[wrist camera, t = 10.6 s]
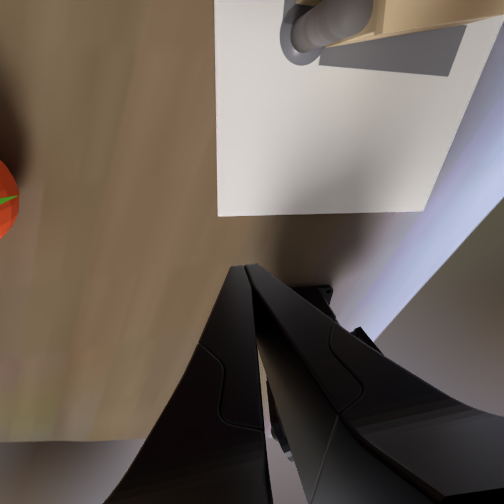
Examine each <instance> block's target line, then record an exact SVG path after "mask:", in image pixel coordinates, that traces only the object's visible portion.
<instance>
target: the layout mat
mask: <svg viewBox="0 0 504 504" xmlns="http://www.w3.org/2000/svg"><path fill="white" fill-rule="evenodd" d="M295 3H296V0H214V36H215V94H216V152H217V211H218V216H255V215H295V214H335V213H375V212H415V211H423V210H424V208H425V205H426V203H427V201H428V198H429V196H430V193H431V191H432V189H433V186H434V184H435V182H436V179H437V177H438V175H439V172H440V170H441V168H442V165H443V163H444V160H445V158H446V156H447V153H448V151H449V149H450V146H451V144H452V142H453V139H454V137H455V134H456V132H457V130H458V127H459V125H460V123H461V120H462V118H463V116H464V113H465V111H466V108H467V106H468V104H469V101H470V99H471V97H472V94H473V92H474V90H475V87H476V85H477V83H478V80H479V78H480V75H481V73H482V71H483V68H484V66H485V64H486V61H487V59H488V57H489V54H490V52H491V49H492V47H493V45H494V42H495V40H496V38H497V35H498V33H499V31H500V28H501V26H502V23H503V21H504V15H500V16H496V17H492V18H488V19H484V20H480V21H476V22H472V23H468V24H464V25H459V26H453V27H447V28H441V29H435V30H429V31H423V32H417V33H411V34H405V35H399V36H393V37H388V38H382V39H376V40H370V41H364V42H358V43H352V44H346V45H340V46H334V47H328V48H325V46H322V47H320V48H317V49H314V50H311V51H308V52H306V53H300V52H298V51H296V50H295V49H294V47H293V46H292V43H291V39H290V33H291V29H292V26H293V24H294V23H295V21H296V20H297V19H299V18H300V17H301V16H303V15H304V14H306V13H307V12H308V11H310V10H311V9H313V8H314V7H315V6H308V5H300V4H295Z"/></svg>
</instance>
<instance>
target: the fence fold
mask: <svg viewBox="0 0 504 504" xmlns="http://www.w3.org/2000/svg"><path fill="white" fill-rule="evenodd" d="M500 15H504V0H373V10H372V14H371V17H370V20H369V22H368V23H367V25H366V26H365V28H364V29H363V30H362V31H361V32H359V33H358V34H356V35H353V36H350V37H347V38H345V39H342V40H339V41H336V42H333V43H331V44H328V45H325V48H328V47H334V46H340V45H346V44H352V43H358V42H364V41H370V40H376V39H382V38H388V37H393V36H399V35H405V34H411V33H417V32H423V31H429V30H435V29H441V28H447V27H453V26H459V25H464V24H468V23H472V22H476V21H480V20H484V19H488V18H492V17H496V16H500Z"/></svg>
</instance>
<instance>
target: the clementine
mask: <svg viewBox="0 0 504 504" xmlns="http://www.w3.org/2000/svg"><path fill="white" fill-rule="evenodd" d="M18 210H19V191H18V188H17V185H16V182H15V179H14V178H13V176H12V174H11V173H10V171H9V170H8V168H7V166H6V165H5V164H4V163H3V162H2V161H1V160H0V239H1V238H2V237H3V236H4V235H5V234H6V233H7V232H8V230H9V229H10V228H11V227H12V226H13V224H14V222H15V220H16V217H17V215H18Z"/></svg>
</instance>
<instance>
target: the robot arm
mask: <svg viewBox="0 0 504 504" xmlns="http://www.w3.org/2000/svg"><path fill="white" fill-rule="evenodd" d="M327 290H328V291H327ZM332 294H333V288H332V287H331V286H330V285H323V286H310V287H298V288H289V287H288V286H287V285H285V284H284V283H283V282H281V281H280V280H279V279H277V278H276V277H275V276H273V275H272V274H271V273H269V272H268V271H267V270H265V269H264V268H263V267H261V266H260V265H259V264H256V263H255V264H247V265H245V266H243V265H238V266H231V267H230V269H229V272H228V274H227V276H226V279H225V281H224V283H223V286H222V288H221V290H220V293H219V295H218V297H217V300H216V302H215V304H214V307H213V309H212V311H211V314H210V316H209V318H208V321H207V323H206V325H205V328H204V330H203V332H202V335H201V337H200V339H199V342H198V343H199V344H197V346H196V348H195V351H194V353H193V355H192V357H191V360H190V362H189V364H188V366H187V368H186V370H185V372H184V374H183V376H182V378H181V380H180V382H179V384H178V385H177V387H176V389H175V391H174V393H173V394H172V396H171V398H170V400H169V401H168V403H167V405H166V406H165V408H164V410H163V412H162V413H161V415H160V417H159V418H158V420H157V422H156V423H155V425H154V427H153V429H152V430H151V432H150V434H149V435H148V437H147V439H146V440H145V442H144V444H143V446H142V447H141V449H140V451H139V453H138V454H137V456H136V457H135V459H134V461H133V462H132V464H131V466H130V467H129V469H128V471H127V472H126V474H125V475H124V476H123V478H122V480H121V481H120V482H119V484H118V485H117V486H116V488H115V489H114V490H113V492H112V493H111V494H110V496H109V497H108V498H107V499H106V500H105V501H104V503H103V504H273V498H272V491H271V483H270V476H269V469H268V460H267V451H266V440H265V428H264V417H263V406H262V395H261V383H260V372H259V361H258V350H259V353H260V357H261V360H262V363H263V366H264V369H265V372H266V375H267V381H266V384H267V394H268V403H269V413H270V422H271V434H272V436H273V438H274V439H275V440H276V441H278V442H279V443H280V446H281V448H282V450H283V452H284V454H285V455H286V457H287V458H288V459H289V460H290V461H292V462H293V461H294V462H295V465H296V468H297V471H298V474H299V477H300V480H301V483H302V486H303V489H304V492H305V495H306V499H307V502H308V504H504V417H502V416H498V415H494V414H491V413H487V412H484V411H481V410H478V409H476V408H473V407H471V406H468V405H466V404H464V403H462V402H460V401H458V400H456V399H454V398H452V397H450V396H448V395H446V394H445V393H443V392H441V391H440V390H438V389H437V388H435V387H433V386H432V385H430V384H429V383H427V382H425V381H424V380H422V379H421V378H419V377H417V376H416V375H414V374H412V373H411V372H409V371H408V370H406V369H404V368H403V367H401V366H400V365H398V364H396V363H395V362H393V361H392V360H390V359H388V358H387V357H385V356H384V355H383V354H382V352H381V351H380V350H379V349H378V348H377V346H376V345H375V344H374V343H373V342H372V340H371V339H370V338H369V337H368V335H367V334H366V333H365V332H364V331H363V329H362V328H361V327H358V328H356V329H354V331H353V332H348V331H347V330H345V329H344V328H343V327H341V326H340V324H339V323H338V321H337V319H336V316H335V314H334V312H333V311H332V309H331V308H330V306H329V304H330V301H331V297H332ZM257 347H258V350H257Z"/></svg>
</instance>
